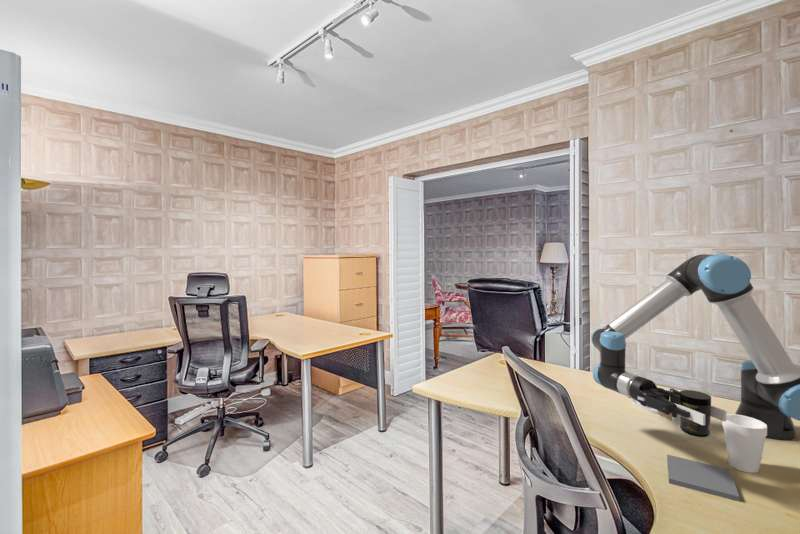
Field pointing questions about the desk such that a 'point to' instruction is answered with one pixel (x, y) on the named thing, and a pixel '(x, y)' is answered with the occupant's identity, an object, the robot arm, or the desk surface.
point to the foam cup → (744, 441)
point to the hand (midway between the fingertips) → (714, 418)
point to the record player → (655, 411)
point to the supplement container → (699, 404)
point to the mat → (701, 477)
